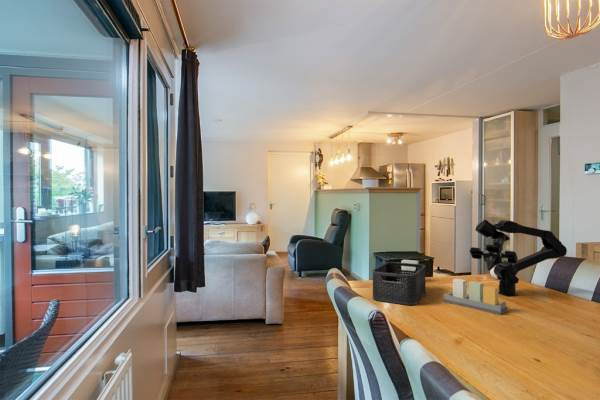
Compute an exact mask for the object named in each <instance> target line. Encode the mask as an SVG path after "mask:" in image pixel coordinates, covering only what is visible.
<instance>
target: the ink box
mask: <svg viewBox="0 0 600 400" xmlns="http://www.w3.org/2000/svg"><path fill="white" fill-rule="evenodd" d="M419 262H420V261H419V260H411V259H402V260H401V261H400V263H410V264H420V263H419ZM400 267H401V269H400V270H408V271H415V269H416V267H408V266H400ZM402 273H403V272H402ZM405 273H406V272H405ZM413 274H414V273H413ZM405 275H406V274H405Z"/></svg>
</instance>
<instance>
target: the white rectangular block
mask: <svg viewBox="0 0 600 400" xmlns="http://www.w3.org/2000/svg"><path fill="white" fill-rule="evenodd" d="M467 287H468V286H467V279H462V278H458V277H457V278H454V279H452V292H453V296H455V297H460V298H463V297H465V296H467V295H468V293H467Z"/></svg>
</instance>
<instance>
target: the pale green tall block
mask: <svg viewBox="0 0 600 400" xmlns="http://www.w3.org/2000/svg"><path fill="white" fill-rule="evenodd" d="M483 287H484V282H480V281H479V282H478V281H474V280H473V281H472V280H471V281H469V282H468V295H469V300H474V301H481V300H483Z"/></svg>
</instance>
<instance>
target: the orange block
mask: <svg viewBox="0 0 600 400" xmlns="http://www.w3.org/2000/svg"><path fill="white" fill-rule="evenodd" d="M498 292H499V286H498V287H497V286H491V285H485V286H484V285H483V303H488V304H492V305H497V306H498V305H499V293H498Z"/></svg>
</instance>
